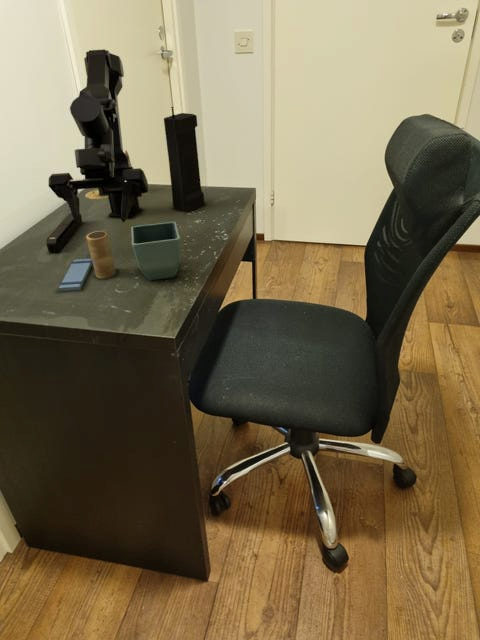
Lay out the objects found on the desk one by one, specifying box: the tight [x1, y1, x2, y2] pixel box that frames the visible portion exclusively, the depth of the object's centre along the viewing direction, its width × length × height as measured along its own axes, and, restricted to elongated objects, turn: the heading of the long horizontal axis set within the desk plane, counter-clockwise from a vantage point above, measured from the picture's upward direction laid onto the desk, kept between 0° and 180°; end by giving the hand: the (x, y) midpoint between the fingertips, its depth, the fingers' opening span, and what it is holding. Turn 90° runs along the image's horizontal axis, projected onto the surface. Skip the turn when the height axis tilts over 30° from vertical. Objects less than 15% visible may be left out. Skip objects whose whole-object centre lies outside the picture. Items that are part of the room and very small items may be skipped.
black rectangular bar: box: [45, 212, 83, 254], centre depth 111 cm, size 18×3×3 cm, turn 179°
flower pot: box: [130, 221, 181, 281], centre depth 91 cm, size 9×9×9 cm
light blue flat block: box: [58, 258, 93, 292], centre depth 95 cm, size 4×12×1 cm, turn 3°
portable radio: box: [163, 106, 205, 212], centre depth 118 cm, size 8×6×25 cm
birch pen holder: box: [85, 230, 117, 280], centre depth 93 cm, size 4×4×8 cm
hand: (100, 223), depth 94 cm, fingers open, 9 cm apart
